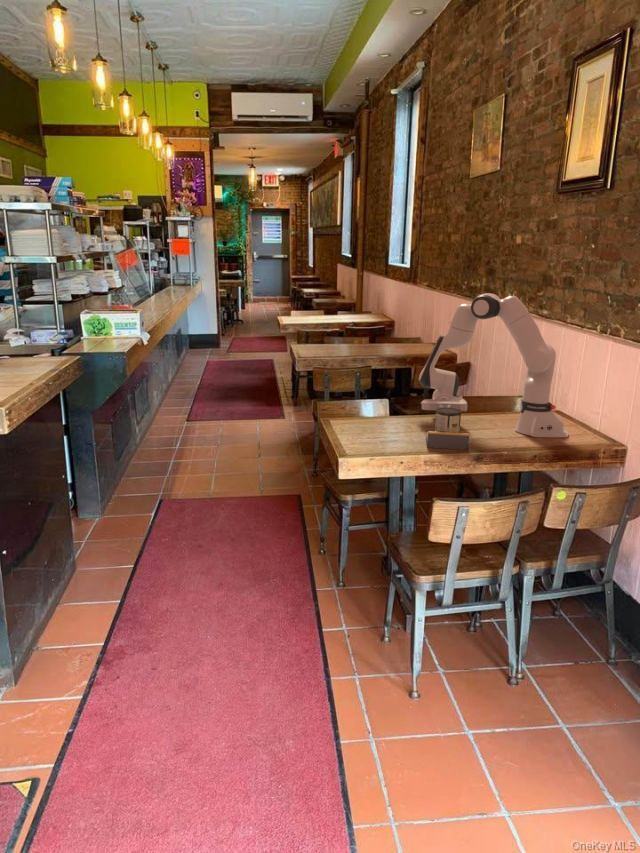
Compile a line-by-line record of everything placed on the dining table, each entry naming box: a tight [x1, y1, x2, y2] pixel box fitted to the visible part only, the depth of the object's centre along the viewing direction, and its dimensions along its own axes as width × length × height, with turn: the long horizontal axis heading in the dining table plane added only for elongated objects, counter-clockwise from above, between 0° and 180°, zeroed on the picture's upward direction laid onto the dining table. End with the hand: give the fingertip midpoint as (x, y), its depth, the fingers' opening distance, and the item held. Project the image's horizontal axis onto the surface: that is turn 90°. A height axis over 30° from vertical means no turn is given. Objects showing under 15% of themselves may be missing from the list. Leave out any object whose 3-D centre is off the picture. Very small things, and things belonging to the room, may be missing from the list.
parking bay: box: [425, 430, 470, 451], centre depth 259 cm, size 16×13×7 cm
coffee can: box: [434, 407, 463, 433], centre depth 259 cm, size 10×10×14 cm
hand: (445, 409), depth 277 cm, fingers closed
